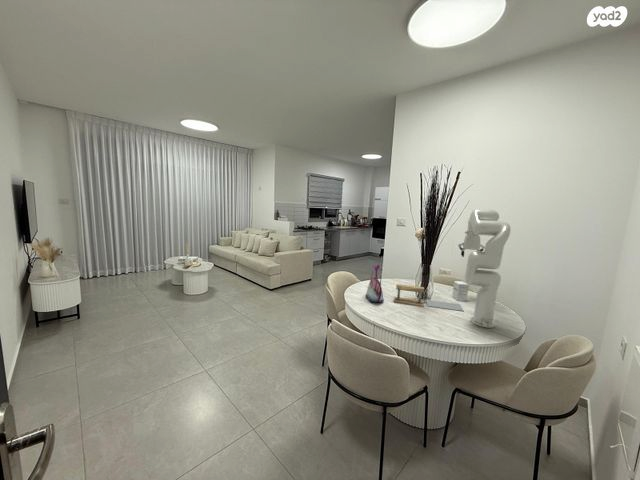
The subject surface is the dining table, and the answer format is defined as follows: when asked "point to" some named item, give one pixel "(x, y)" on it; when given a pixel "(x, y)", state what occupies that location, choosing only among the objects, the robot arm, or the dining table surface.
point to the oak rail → (410, 288)
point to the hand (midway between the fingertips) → (470, 257)
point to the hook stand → (409, 300)
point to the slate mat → (444, 305)
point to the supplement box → (460, 291)
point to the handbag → (375, 288)
